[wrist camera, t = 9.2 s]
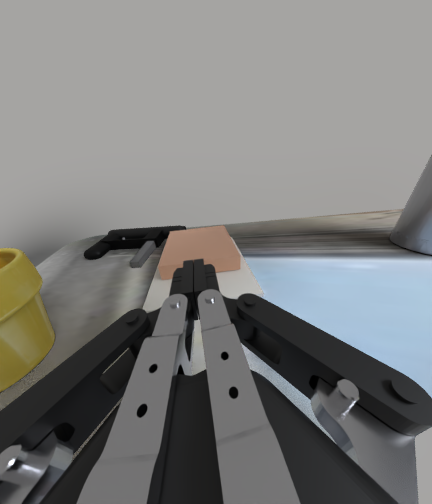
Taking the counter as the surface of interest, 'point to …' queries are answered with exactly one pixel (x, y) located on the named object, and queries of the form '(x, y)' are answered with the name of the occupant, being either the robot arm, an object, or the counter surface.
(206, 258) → the terracotta tile
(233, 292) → the grey mat
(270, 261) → the counter surface
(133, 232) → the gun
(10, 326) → the plant pot
